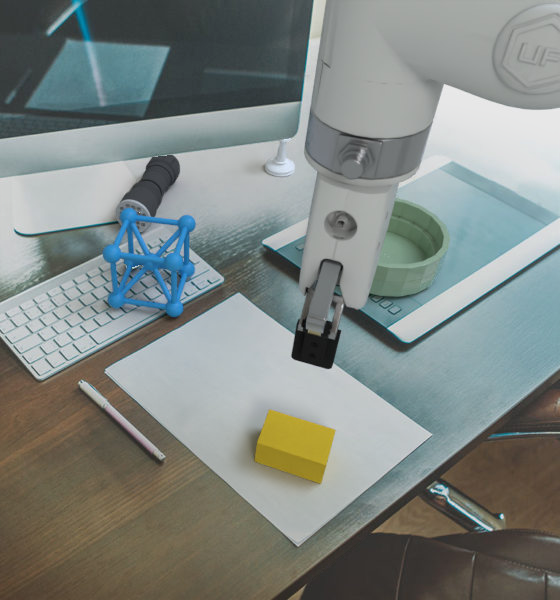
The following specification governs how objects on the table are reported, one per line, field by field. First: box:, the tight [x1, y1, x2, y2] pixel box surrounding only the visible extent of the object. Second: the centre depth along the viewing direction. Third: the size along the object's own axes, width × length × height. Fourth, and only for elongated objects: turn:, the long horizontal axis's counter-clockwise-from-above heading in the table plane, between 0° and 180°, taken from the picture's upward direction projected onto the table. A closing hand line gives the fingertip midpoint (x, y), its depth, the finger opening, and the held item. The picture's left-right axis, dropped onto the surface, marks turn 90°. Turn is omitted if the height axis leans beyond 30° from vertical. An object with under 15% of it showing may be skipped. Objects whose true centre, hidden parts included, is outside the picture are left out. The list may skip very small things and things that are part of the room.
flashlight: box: [114, 154, 181, 233], centre depth 100 cm, size 15×5×5 cm, turn 160°
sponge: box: [253, 408, 337, 485], centre depth 67 cm, size 7×4×4 cm, turn 67°
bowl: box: [369, 197, 451, 297], centre depth 88 cm, size 16×16×6 cm
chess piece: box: [264, 137, 296, 178], centre depth 104 cm, size 5×5×10 cm
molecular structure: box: [101, 208, 197, 318], centre depth 83 cm, size 10×10×10 cm
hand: (325, 320), depth 54 cm, fingers open, 9 cm apart
